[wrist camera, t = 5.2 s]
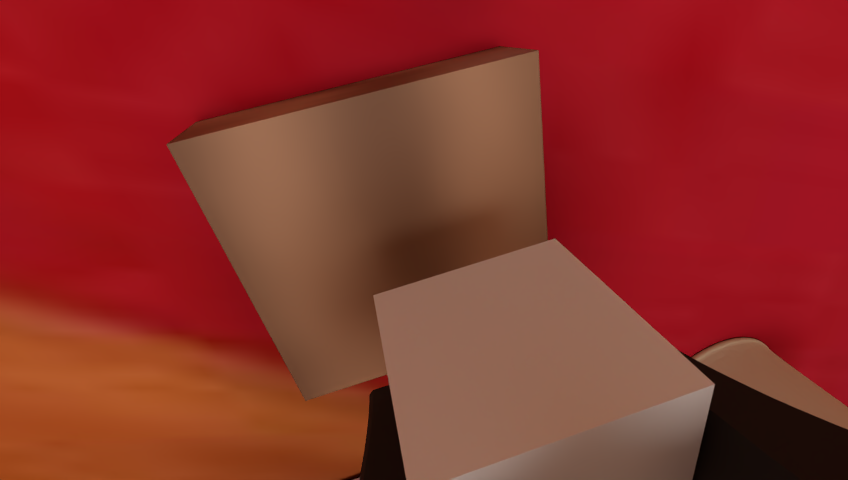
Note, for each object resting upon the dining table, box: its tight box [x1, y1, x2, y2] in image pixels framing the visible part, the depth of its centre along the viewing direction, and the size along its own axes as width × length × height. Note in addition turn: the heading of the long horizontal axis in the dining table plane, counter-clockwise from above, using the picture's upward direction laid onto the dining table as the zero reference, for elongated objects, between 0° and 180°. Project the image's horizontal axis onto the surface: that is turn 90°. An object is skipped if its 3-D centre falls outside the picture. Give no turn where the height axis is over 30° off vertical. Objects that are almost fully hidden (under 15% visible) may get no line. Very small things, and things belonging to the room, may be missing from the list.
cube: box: [373, 239, 715, 480], centre depth 9 cm, size 5×5×5 cm
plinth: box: [167, 46, 548, 401], centre depth 15 cm, size 11×11×3 cm
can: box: [691, 338, 848, 429], centre depth 23 cm, size 9×9×12 cm
